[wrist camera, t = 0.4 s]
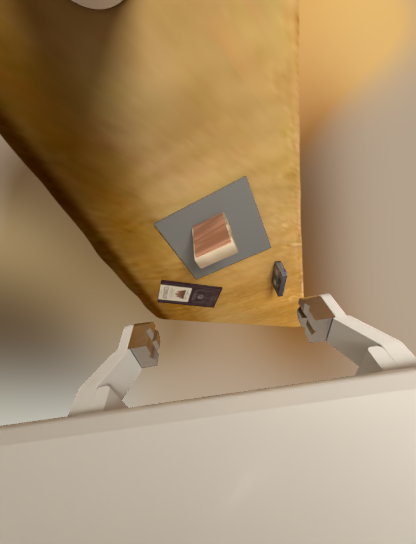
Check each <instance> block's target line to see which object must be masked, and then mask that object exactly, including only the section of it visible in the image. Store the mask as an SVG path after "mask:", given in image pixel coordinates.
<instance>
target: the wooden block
mask: <svg viewBox="0 0 416 544" xmlns="http://www.w3.org/2000/svg"><path fill="white" fill-rule="evenodd" d="M192 234H193V246H194V258H195V261H196V263H197V264H198V266H199V267H200V268H204V267H206V266H208V265H210V264H213V263H215V262H217V261H220V260H222V259H224V258H227V257H229V256H231V255H233V254H236V253H238V249H237V246H236V243H235V240H234V237H233V234H232V231H231V228H230V225H229V222H228V220H227V218H226V216H225V214H224V212H221V213H219V214H217V215H215V216H213V217H211V218H209V219H207V220H205V221H203V222H201V223H199V224H197V225H195V226H193V227H192Z"/></svg>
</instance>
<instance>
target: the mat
mask: <svg viewBox="0 0 416 544" xmlns="http://www.w3.org/2000/svg"><path fill="white" fill-rule="evenodd" d="M221 212H224V214H225V216H226V218H227V220H228V222H229V225H230V228H231V231H232V234H233V237H234V240H235V243H236V246H237V249H238V253H236V254H233V255H231V256H229V257H227V258H224V259H222V260H220V261H217V262H215V263H213V264H210V265H208V266H206V267H204V268H200V267H199V266H198V264H197V263H196V261H195V258H194V246H193V234H192V227H193V226H195V225H197V224H199V223H201V222H203V221H205V220H207V219H209V218H211V217H213V216H215V215H217V214H219V213H221ZM154 225H155V226H156V228H157V229H158V230H159V231H160V233H161V234H162V235H163V237H164V238H165V239H166V241H167V242H168V243H169V244H170V246H171V247H172V248H173V250H174V251H175V252H176V254H177V255H178V256H179V257H180V259H181V260H182V261H183V263H184V264H185V265H186V267H187V268H188V269H189V270H190V272H191V273H192V274H193V276H194V277H195V278H196V279H198V278H201V277H203V276H205V275H208V274H210V273H213V272H215V271H217V270H220V269H222V268H224V267H227V266H229V265H231V264H234V263H236V262H238V261H241V260H243V259H245V258H248V257H250V256H252V255H255V254H257V253H259V252H262V251H264V250H267V249H269V248H271V245H270V243H269V240H268V237H267V234H266V231H265V228H264V226H263V223H262V220H261V217H260V214H259V211H258V209H257V206H256V203H255V200H254V197H253V195H252V192H251V189H250V186H249V183H248V180H247V178H246V176H244V177H242V178H240V179H238V180H236V181H235V182H233V183H231V184H229V185H227V186H225V187H223V188H221V189H219V190H217V191H215V192H213V193H212V194H210V195H208V196H206V197H204V198H202V199H200V200H198V201H196V202H194V203H192V204H190V205H188V206H187V207H185V208H183V209H181V210H179V211H177V212H175V213H173V214H171V215H169V216H167V217H165V218H163V219H162V220H160V221H158V222H156V223H154Z"/></svg>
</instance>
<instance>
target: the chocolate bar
mask: <svg viewBox="0 0 416 544" xmlns="http://www.w3.org/2000/svg"><path fill="white" fill-rule="evenodd" d="M221 290H222V287H214V286H206V285H198V284H190V283H182V282H174V281H166V280H162V281H161V286H160V291H159V297H158V302H163V303H173V304H183V305H194V306H204V307H214V306H215V303H216V301H217V299H218V297H219V295H220V292H221Z"/></svg>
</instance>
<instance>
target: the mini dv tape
mask: <svg viewBox="0 0 416 544" xmlns="http://www.w3.org/2000/svg"><path fill="white" fill-rule="evenodd" d="M286 278H287V272H286V270H285V269H284V267H283V265H282V263H281V261H275V264H274V270H273V277H272V284H273V286H274V288H275V290H276V293H277V295H278V296H283V292H284V287H285V282H286Z"/></svg>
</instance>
